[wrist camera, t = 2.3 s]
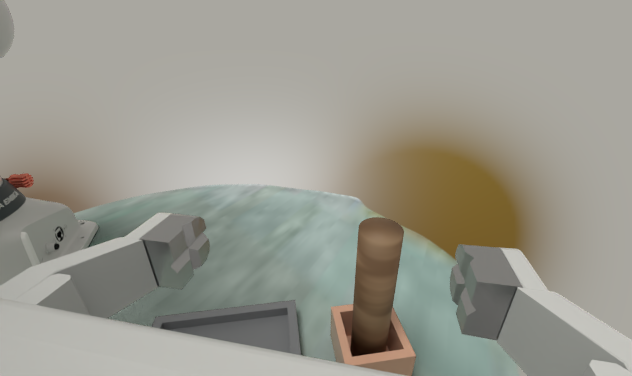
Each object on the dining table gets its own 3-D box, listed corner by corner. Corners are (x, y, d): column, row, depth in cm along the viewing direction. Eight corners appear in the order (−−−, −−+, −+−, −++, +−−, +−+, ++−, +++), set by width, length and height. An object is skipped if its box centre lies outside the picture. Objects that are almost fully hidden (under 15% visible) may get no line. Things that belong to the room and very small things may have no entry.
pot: (330, 334, 34) (331, 307, 32) (385, 327, 34) (389, 299, 32) (343, 396, 28) (345, 366, 26) (409, 385, 29) (416, 355, 27)
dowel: (346, 342, 32) (353, 219, 25) (377, 337, 33) (393, 215, 26) (355, 374, 29) (366, 244, 22) (389, 369, 30) (411, 240, 22)
